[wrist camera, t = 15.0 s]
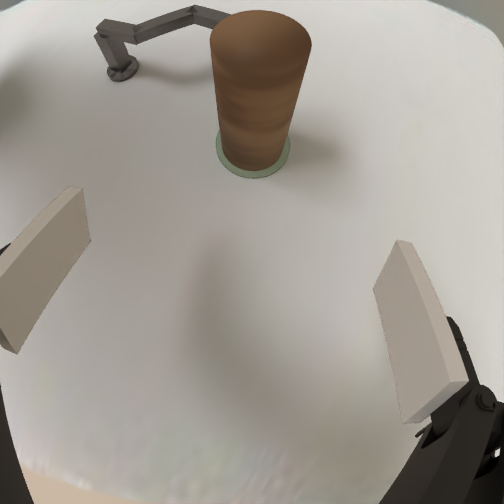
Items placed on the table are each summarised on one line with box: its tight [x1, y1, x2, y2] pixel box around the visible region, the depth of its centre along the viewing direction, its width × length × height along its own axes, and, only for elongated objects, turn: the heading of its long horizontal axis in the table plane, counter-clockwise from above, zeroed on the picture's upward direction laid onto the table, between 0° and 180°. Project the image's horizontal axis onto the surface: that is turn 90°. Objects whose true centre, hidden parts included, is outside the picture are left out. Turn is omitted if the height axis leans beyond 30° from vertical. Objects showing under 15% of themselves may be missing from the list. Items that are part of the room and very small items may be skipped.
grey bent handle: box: [94, 5, 231, 82], centre depth 23 cm, size 15×4×7 cm, turn 84°
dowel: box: [210, 10, 312, 171], centre depth 19 cm, size 5×5×12 cm
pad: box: [216, 130, 290, 178], centre depth 25 cm, size 6×6×1 cm
